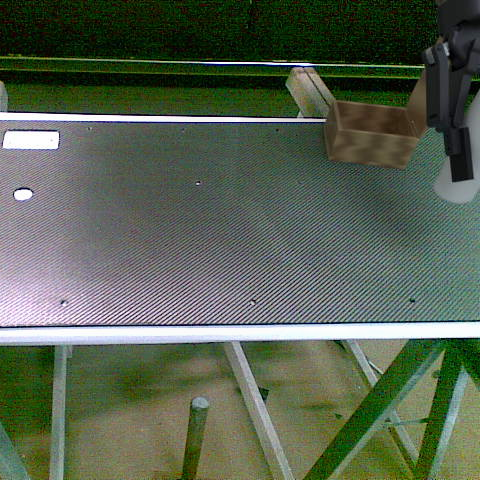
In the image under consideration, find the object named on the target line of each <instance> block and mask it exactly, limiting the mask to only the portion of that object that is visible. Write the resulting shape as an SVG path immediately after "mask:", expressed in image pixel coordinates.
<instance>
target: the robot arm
mask: <svg viewBox="0 0 480 480" xmlns="http://www.w3.org/2000/svg"><path fill="white" fill-rule="evenodd" d="M435 4H436V6H438V7H437V9H436V20H437V21H436V22H437V32H438V36H440V37H442V38H443V41H442V43H437V42H436V43H437V44H436V43H435V44H434V45H432V46H430V47H428V48H427V49H425V50H422V51H421V60H422V63H423V66H424V68H425V69H426V124H427V126H428V129H429V128H430V129H431V128H432V129H433V128H434V130H435V131H434V132H436V133H437V134H442V135H443V137H442V138H443V148H444V155H446V156H449V158H450V168H451V177H452V183H453V182H461V181H467V180H474V173H473V163H472V154H471V144H470V134H469V127H463V128H460V127H461V126H462V123H463V118H464V116H465V114H466V107H467V103H468V98H469V93H470V88H471V84H472V78H473V76H474V75H475V74H477V76H478V78H479V79H480V0H435ZM447 58H448V59H447ZM448 60H449V61H450V65H449V70H448ZM446 156H445V157H446Z"/></svg>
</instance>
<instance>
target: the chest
mask: <svg viewBox="0 0 480 480" xmlns="http://www.w3.org/2000/svg"><path fill="white" fill-rule="evenodd" d="M322 130H323V136H324V137H323V138H324V142H325V149H326V156H327V161H330V162H331V161H332V162H340V163H347V164H358V165H365V166H373V167H380V168H388V169H389V168H390V169H396V170H406V169H407V166H408V164H409V162H410V160H411V158H412V156H413V154H414V153H415V151H416V148H417V146H418V144H419V143H420V141H421V139H420V137H419V136H418V133H417V131H416V128H415V126H414V124H413V121H412V119H411V116H410V114H409V112H408V109H407V107H402V106H394V105H393V106H392V105H383V104H375V103H367V102H358V101H348V100H341V99H340V100H339V99H332V100H331V103H330V106H329V110H328V111H327V115H326V119H325V121H324V124H323V128H322Z"/></svg>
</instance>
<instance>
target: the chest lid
mask: <svg viewBox="0 0 480 480" xmlns="http://www.w3.org/2000/svg"><path fill="white" fill-rule="evenodd" d="M442 41H443V38H442V37H440V35H438V39H437V40H436V42H435V44H437V43H442ZM447 59H448V58H447ZM449 65H450V61H449V60H448V70H449ZM405 108H407V110H408V112H409V115H410V117H411V120H412V122H413V124H414V127H415V129H416V132H417V134H418V136H419V139H420V138H421V139H423V138H424V137H425V135H426V133H427V131H428V130H429V127H428V126H427V124H426V69H425V67H423V70H422V72H421V73H420V76H419V78H418V80H417V82H416V84H415V86H414V89H413V90H412V92H411V95H410V97H409V99H408V101H407V103H406V105H405Z"/></svg>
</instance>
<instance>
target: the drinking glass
mask: <svg viewBox="0 0 480 480" xmlns="http://www.w3.org/2000/svg"><path fill="white" fill-rule="evenodd" d="M463 127H469V134H470V144H471V154H472V163H473V173H474V180H467V181H461V182H453V183H452V177H451V168H450V158H449V156H445V158H444V160H443V163H442V165H441V168H440V170H439V172H438V174H437V176H436V178H435V180H434V181H433V184H432V190H433V192H434V193H435V195H437V197H439V198H440V199H441V200H443V201H445V202H448V203H451V204H456V205H465V204H468V203H470V202H472V201H473V200H474V199H475V197H476V196H477V194H478V193H479V191H480V88H479V89H478V91H477V93H476V94H475V96H474V97H473V99H472V101H471V103H470V105H469V106H468V108H467V109H466V111H465V113H464V118H463V123H462V126H461V127H460V128H463Z"/></svg>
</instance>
